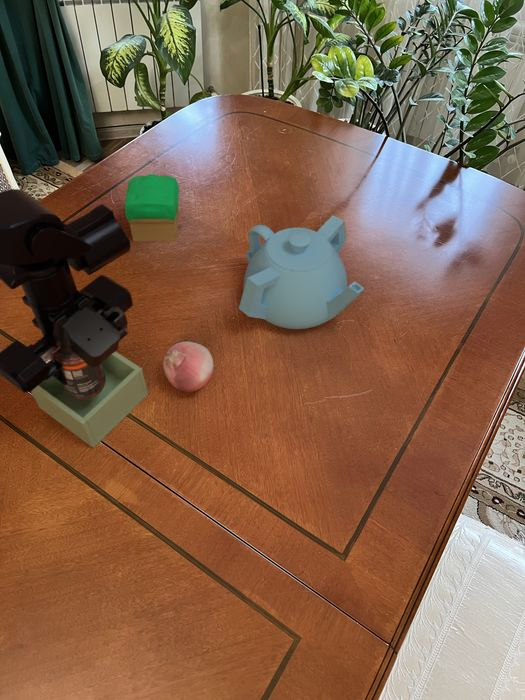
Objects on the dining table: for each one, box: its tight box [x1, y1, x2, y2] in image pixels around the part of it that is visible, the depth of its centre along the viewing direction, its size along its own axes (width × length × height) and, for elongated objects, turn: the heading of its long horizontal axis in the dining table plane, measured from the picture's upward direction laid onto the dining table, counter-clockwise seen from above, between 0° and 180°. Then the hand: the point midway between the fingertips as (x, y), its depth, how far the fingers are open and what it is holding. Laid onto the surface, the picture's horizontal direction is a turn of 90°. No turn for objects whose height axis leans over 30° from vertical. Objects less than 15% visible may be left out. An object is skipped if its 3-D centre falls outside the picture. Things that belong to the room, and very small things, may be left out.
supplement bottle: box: [52, 347, 106, 399], centre depth 79 cm, size 6×6×11 cm
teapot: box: [238, 214, 365, 330], centre depth 96 cm, size 19×19×14 cm
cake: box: [124, 173, 180, 242], centre depth 108 cm, size 10×11×10 cm
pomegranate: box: [162, 341, 215, 393], centre depth 87 cm, size 8×8×7 cm
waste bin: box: [30, 350, 149, 449], centre depth 84 cm, size 12×12×7 cm
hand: (80, 368), depth 80 cm, fingers closed on supplement bottle, 6 cm apart
